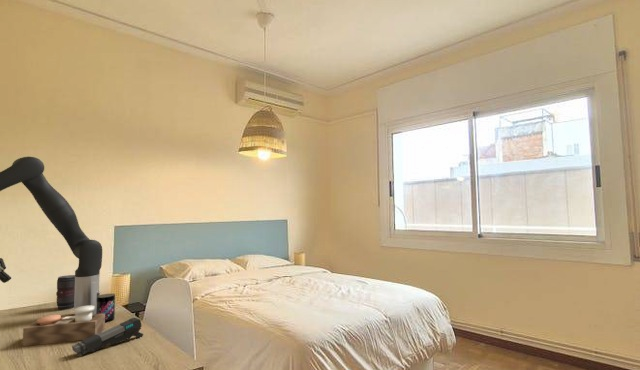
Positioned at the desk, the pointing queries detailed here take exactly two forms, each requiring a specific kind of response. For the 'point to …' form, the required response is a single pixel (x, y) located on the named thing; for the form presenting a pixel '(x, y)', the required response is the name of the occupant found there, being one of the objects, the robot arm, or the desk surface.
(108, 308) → the supplement container
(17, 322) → the desk surface
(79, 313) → the white button
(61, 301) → the camera lens
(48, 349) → the desk surface
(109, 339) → the gun
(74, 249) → the robot arm
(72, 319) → the console
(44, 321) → the terracotta button
